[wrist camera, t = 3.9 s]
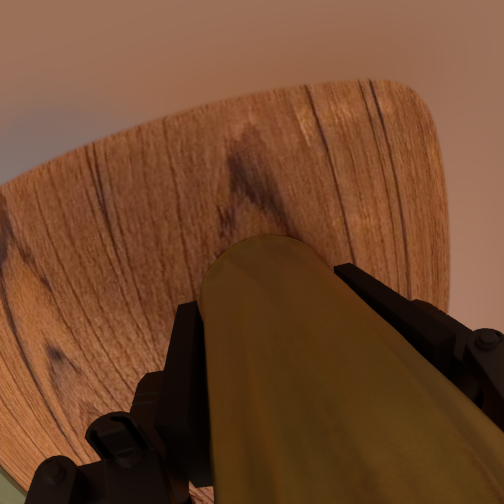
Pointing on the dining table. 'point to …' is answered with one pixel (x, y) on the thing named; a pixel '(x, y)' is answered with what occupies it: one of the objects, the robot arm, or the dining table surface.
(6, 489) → the mat
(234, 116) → the dining table surface
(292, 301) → the fluted gold cylinder
